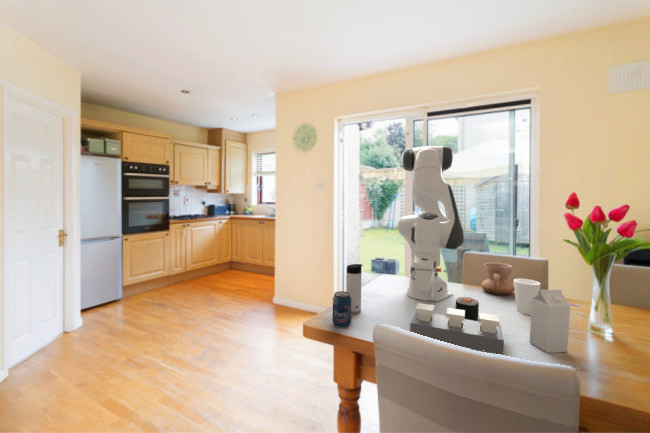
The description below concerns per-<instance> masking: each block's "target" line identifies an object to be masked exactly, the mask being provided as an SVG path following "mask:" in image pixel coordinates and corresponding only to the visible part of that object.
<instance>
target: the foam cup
mask: <svg viewBox="0 0 650 433" xmlns="http://www.w3.org/2000/svg"><path fill="white" fill-rule="evenodd" d="M513 286H514V297H515V309H516V312H518V313H519V314H523V315H529V316H531V308H532V298H534V297H535V296H537V295H539V294H540V293H539V292H540V291H541V282H539V281H537V280H534V279H528V278H514V279H513Z"/></svg>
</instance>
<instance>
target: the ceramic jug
mask: <svg viewBox="0 0 650 433" xmlns="http://www.w3.org/2000/svg"><path fill="white" fill-rule="evenodd" d="M484 270H485V272H486V275H487V277H488V278H487V279H485V280H483V281H482V282H481V288H482V289H483V290H484V291H486V292H487V293H491V294H494V295H499V296H501V295H504V296H505V295H510V294H512V293H513V292H515V289H514V284H513V283H512V282H510V281H509V280H508V279H509V277H510V275H511V273H512V270H513V266H512V265H510V264H508V263H503V262H501V263H500V262H492V261H491V262H486V263H484Z"/></svg>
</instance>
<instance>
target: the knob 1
mask: <svg viewBox="0 0 650 433" xmlns="http://www.w3.org/2000/svg"><path fill="white" fill-rule="evenodd" d="M434 312H435V305H433V304H427V303H426V304H425V303H419V302H418V303H417V305H416V307H415V313H418V320H420V321H426V322H431V318H432V315H433V314H434Z"/></svg>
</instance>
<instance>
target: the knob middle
mask: <svg viewBox="0 0 650 433" xmlns="http://www.w3.org/2000/svg"><path fill="white" fill-rule="evenodd" d="M445 314H446V315H445V316H446V318H449V326H454V327H459V328H462V321H464V319H465V310H459V309H455V308H453V307H447V309H446V313H445Z"/></svg>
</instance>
